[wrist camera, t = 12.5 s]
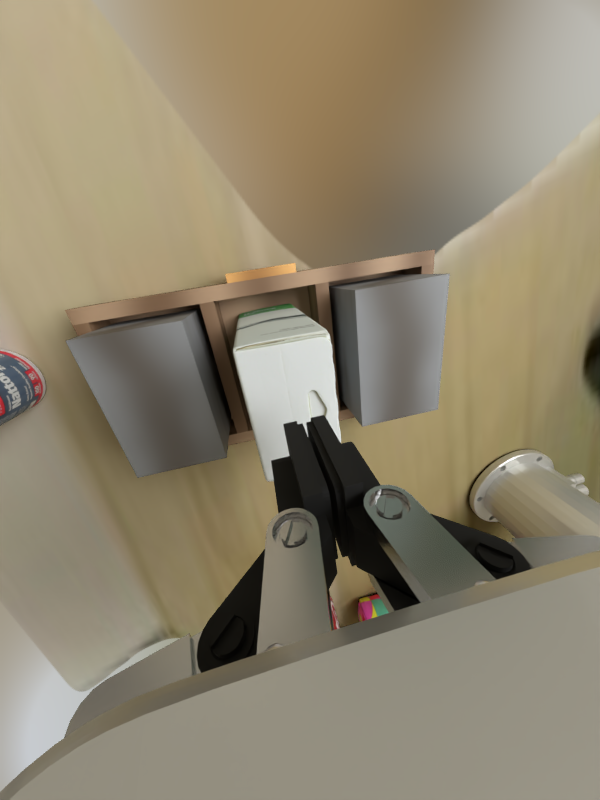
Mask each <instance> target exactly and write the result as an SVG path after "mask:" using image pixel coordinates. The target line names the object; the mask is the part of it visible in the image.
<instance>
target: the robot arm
mask: <svg viewBox="0 0 600 800" xmlns="http://www.w3.org/2000/svg"><path fill="white" fill-rule="evenodd" d="M306 425H307V432H308V436H307V433H306V431H305V428H304V426H303V423H301V424H297V421H294V422H289V423H285V424H283V426H284V431H285V436H286V441H287V446H288V451H289V456H287V457H283V458H279V459H275V460H271V464H272V471H273V478H274V485H275V492H276V499H277V505H278V512H279V513H278V514H277V515H276V516H275V517H274V518H273V519H272V520H271V522H270V524H269V525H268V529H267V534H266V546H265V549H264V551H263V552H262V553H261V555H260V556H259V557H258V558H257V560H256V561H255V562H254V563H253V565H252V566H251V567H250V569H249V570H248V571H247V572H246V574H245V575H244V576H243V578H242V579H241V580H240V581H239V583H238V584H237V585H236V586H235V588H234V589H233V590H232V592H231V593H230V594H229V595H228V597H227V598H226V599H225V600H224V602H223V603H222V604H221V606H220V607H219V608H218V609H217V611H216V612H215V613H214V614H213V616H212V617H211V618H210V620H209V621H208V623H207V624H206V626H205V627H204V629H203V631H201V632H200V633H198V634H196V635H194V636H193V637H191V635H190V634H187V635H186V636H184V637H182V638H180V639H178V640H177V641H175V642H173V643H172V644H170V645H168V646H166V647H165V648H162V649H161V650H159V651H157V652H155V653H153V654H152V655H150V656H148V657H146V658H145V659H143V660H141V661H139V662H137V663H136V664H134V665H132V666H131V667H129V668H127V669H125V670H123V671H121V672H120V673H118V674H116V675H114V676H112V677H110V678H109V679H107V680H105V681H104V682H103V683H101V684H100V685H99V686H97V687H96V688H95V689H93V690H92V692H90V694H89V695H88V696H87V697H86V698H85V699H84V700H83V702H82V703H81V704H80V706H79V707H78V709H77V711H76V712H75V714H74V716H73V717H72V719H71V721H70V723H69V726H68V729H67V732H66V734H65V737H64V739H62V740H61V741H59V742H58V743H57V744H55V745H54V746H53V747H52V748H50V749H49V750H48V751H46V752H45V753H44V754H43V755H42V756H40V757H39V758H38V759H37V760H35V761H34V762H33V763H32V764H31V765H29V766H28V767H27V768H26V769H24V771H22V772H21V773H20V774H19V775H18V776H17V777H16V778H15V779H13V781H11V782H10V783H9V784H8V785H7V786H6V787H5V788H4V789H3V790H2V791H1V792H0V800H600V504H599V503H598V502H596V501H595V500H593V499H592V498H590V497H588V494H589V490H588V489H587V487H586V486H585V485H583V484H581V483H583V482H584V481H585V479H584V477H583V476H582V475H581V474H579V473H574V474H570V475H567V476H563V475H562V474H560V473H559V472H557V471H556V470H554V465H553V463H552V461H551V459H550V458H549V457H548V456H546V455H544V454H543V453H541V452H539V451H536V450H530V449H527V450H519V451H515V452H512V453H510V454H507V455H505V456H503V457H501V458H500V459H498V460H496V461H495V462H494V463H492V464H491V465H490V466H489V467H487V468H486V469H485V470H484V471H483V472H482V474H481V475H480V476H479V477H478V479H477V480H476V482H475V483H474V485H473V488H472V490H471V493H470V506H471V509H472V510H473V512H474V513H475V514H476V515H477V516H478V517H479V518H481V519H483V520H485V521H489V522H500V523H501V524H502V525H503V526H504V527H505V528H506V529H507V530H508V531H509V532H510V533H511V534H512V535H513V536H514V537H515V538H512V541H511V542H506V541H505V540H502V539H500V538H498V537H496V536H493V535H490V534H487V533H484V532H482V531H479V530H476V529H473V528H470V527H467V526H464V525H461V524H458V523H456V522H453V521H450V520H447V519H444V518H441V517H438V516H435V515H432V514H430V513H429V512H428V511H427V510H426V509H425V508H424V507H423V506H422V505H421V504H420V503H419V502H418V501H417V500H416V499H415V498H414V497H413V496H412V495H411V494H409V493H408V492H407V491H405V490H404V489H402V488H399V487H397V486H392V485H380V484H379V482H378V481H377V479H376V478H375V476H374V474H373V473H372V471H371V470H370V468H369V467H368V465H367V464H366V462H365V461H364V459H363V458H362V456H361V455H360V453H359V451H358V450H357V448H356V447H355V445H354V444H353V443H352V442H347V443H342V444H341V443H340V441H339V440H338V438H337V436H336V434H335V433H334V431H333V429H332V427H331V426H330V424H329V422H328V420H327V419H326V417H325V415H321V416H316V417H312V418H311V421H310V422H306ZM335 538H336V539H335ZM336 541H337V543H338V546H339V549H340V552H341V555H342V557H345V556H348V557H349V560H350V563H351V565H352V566H354V565H357V567H358V568H360V569H362V570H363V571H365V572H367V573H368V576H369V578H370V581H371V583H372V585H373V586H374V588H375V590H376V591H377V593H378V595H379V597H380V598H381V600H382V602H383V604H384V605H385V607H386V609H387V610H388V612H389V613H387V614H384V615H381V616H378V617H374V618H371V619H368V620H365V621H362V622H358V623H355V624H352V625H349V626H346V627H342V628H339V629H336V630H334V623H333V615H332V607H331V600H330V592H329V588H330V586H331V584H332V582H333V580H334V578H335V576H336V574H337V567H336V560H335V559H338V554H337V547H336Z"/></svg>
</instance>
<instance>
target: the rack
mask: <svg viewBox="0 0 600 800" xmlns="http://www.w3.org/2000/svg"><path fill="white" fill-rule="evenodd" d="M434 253H435V250H429V251H421V252H414V253H407V254H401V255H395V256H389V257H383V258H377V259H371V260H364V261H358V262H352V263H346V264H340V265H334V266H328V267H322V268H315V269H309V270H303V271H297V272H296V266H295V263H292V264H286V265H280V266H273V267H267V268H261V269H255V270H248V271H242V272H236V273H230V274H225V275H226V279H227V283H224V284H218V285H212V286H205V287H199V288H193V289H187V290H181V291H175V292H169V293H163V294H156V295H150V296H144V297H138V298H132V299H126V300H120V301H114V302H108V303H101V304H95V305H90V306H84V307H79V308H74V309H68V310H65V311H66V313H67V315H68V317H69V319H70V321H71V323H72V325H73V327H74V329H75V331H76V333H77V335H78V337H75V338H72V339H69V340H67V341H66V343H67V345H68V347H69V349H70V350H71V352H72V354H73V356H74V358H75V360H76V362H77V364H78V366H79V367H80V369H81V371H82V373H83V375H84V377H85V379H86V381H87V383H88V385H89V386H90V388H91V390H92V392H93V394H94V396H95V398H96V400H97V402H98V404H99V405H100V407H101V409H102V411H103V413H104V415H105V417H106V419H107V421H108V422H109V424H110V426H111V428H112V430H113V432H114V434H115V436H116V438H117V440H118V441H119V443H120V445H121V447H122V449H123V451H124V453H125V455H126V457H127V459H128V460H129V462H130V464H131V466H132V468H133V470H134V472H135V474H136V476H137V477H138V478H139V477H143V476H148V475H152V474H156V473H161V472H165V471H170V470H174V469H178V468H183V467H187V466H191V465H196V464H200V463H205V462H209V461H213V460H218V459H222V458H227V450H228V445H233V444H237V443H242V442H246V441H251V440H255V437H254V433H253V429H252V426H251V422H250V418H249V414H248V410H247V407H246V403H245V399H244V395H243V391H242V388H241V384H240V380H239V376H238V372H237V368H236V364H235V360H234V355H233V347H234V342H235V336H236V330H237V323H238V316H239V314H241V313H245V312H249V311H252V310H257V309H261V308H266V307H272V306H277V305H283V304H288V303H290V304H292V305H293V306H294V307H295V308H297V309H298V310H300V311H301V312H302V313H304V314H305V315H306V316H308V317H309V318H311V319H312V320H314V321H315V322H316V323H318V324H319V325H321V326H322V327H323V328H325V329H326V330H327V331H328V333H329V334H330V339H331V344H332V351H333V354H332V357H333V364H334V369H335V388H336V396H337V401H338V419H339V421H340V420H344V419H349V418H353V417H355V418H356V419H357V420H358V422H359V423H360V424H361V425H362V427H363V426H367V425H371V424H376V423H380V422H384V421H389V420H393V419H398V418H402V417H406V416H411V415H415V414H420V413H424V412H428V411H433V410H437V409H438V402H439V390H440V379H441V367H442V356H443V344H444V332H445V321H446V309H447V298H448V286H449V274H433V269H434Z"/></svg>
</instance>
